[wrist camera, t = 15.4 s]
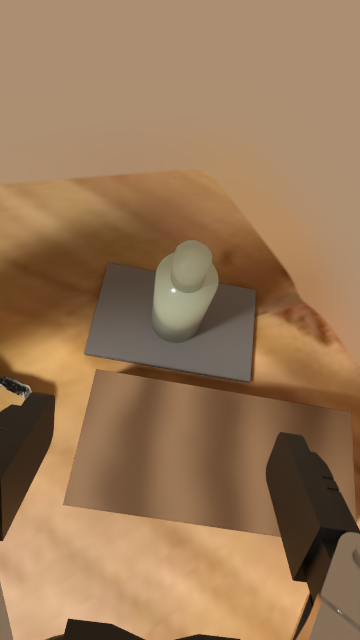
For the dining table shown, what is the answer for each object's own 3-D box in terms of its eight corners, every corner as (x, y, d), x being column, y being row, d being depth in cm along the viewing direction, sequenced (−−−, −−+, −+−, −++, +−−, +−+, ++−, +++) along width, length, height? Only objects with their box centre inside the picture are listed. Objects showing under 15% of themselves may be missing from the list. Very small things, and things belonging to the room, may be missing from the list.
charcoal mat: (85, 354, 32) (84, 353, 32) (108, 265, 36) (107, 262, 36) (248, 382, 33) (250, 381, 33) (254, 292, 37) (256, 289, 36)
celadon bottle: (147, 338, 33) (151, 280, 22) (156, 294, 35) (164, 220, 24) (195, 347, 33) (224, 294, 22) (201, 303, 35) (231, 234, 24)
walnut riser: (72, 498, 28) (63, 504, 24) (101, 378, 32) (96, 369, 28) (329, 536, 29) (357, 548, 25) (327, 416, 33) (351, 412, 29)
